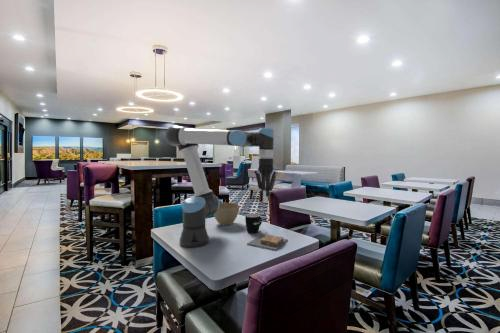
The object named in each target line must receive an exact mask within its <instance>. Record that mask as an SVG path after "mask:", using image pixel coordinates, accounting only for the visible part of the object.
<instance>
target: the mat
mask: <svg viewBox="0 0 500 333" xmlns="http://www.w3.org/2000/svg"><path fill="white" fill-rule="evenodd" d="M265 236H267V235H266V234H260V235H258V236H257V237H255V238H253V239H252V240H250V241H249V242H247V243H246V244H247V246H252V247H256V248H260V247H261V248H260V249H265V248H266V250H270V251H274V250H275V251H276V252H277V250H278V249H280V248H281V247H282V246H283V245H284V244H285V243H287V242H288V239H287V238H284V240H283V242H282V243H281V244H279V245H278V246H277V247H275V246H271V245H266V244H261V239H262V238H264V237H265ZM280 246H281V247H280ZM279 247H280V248H279ZM275 251H274V252H275Z"/></svg>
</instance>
